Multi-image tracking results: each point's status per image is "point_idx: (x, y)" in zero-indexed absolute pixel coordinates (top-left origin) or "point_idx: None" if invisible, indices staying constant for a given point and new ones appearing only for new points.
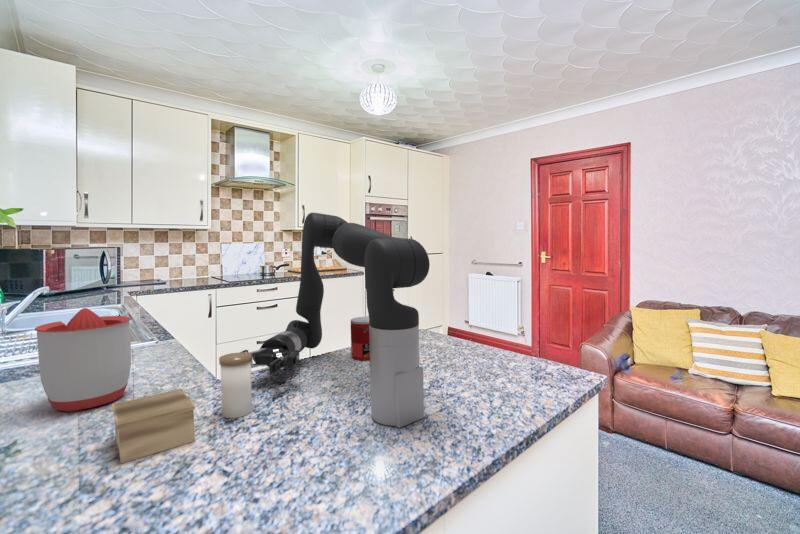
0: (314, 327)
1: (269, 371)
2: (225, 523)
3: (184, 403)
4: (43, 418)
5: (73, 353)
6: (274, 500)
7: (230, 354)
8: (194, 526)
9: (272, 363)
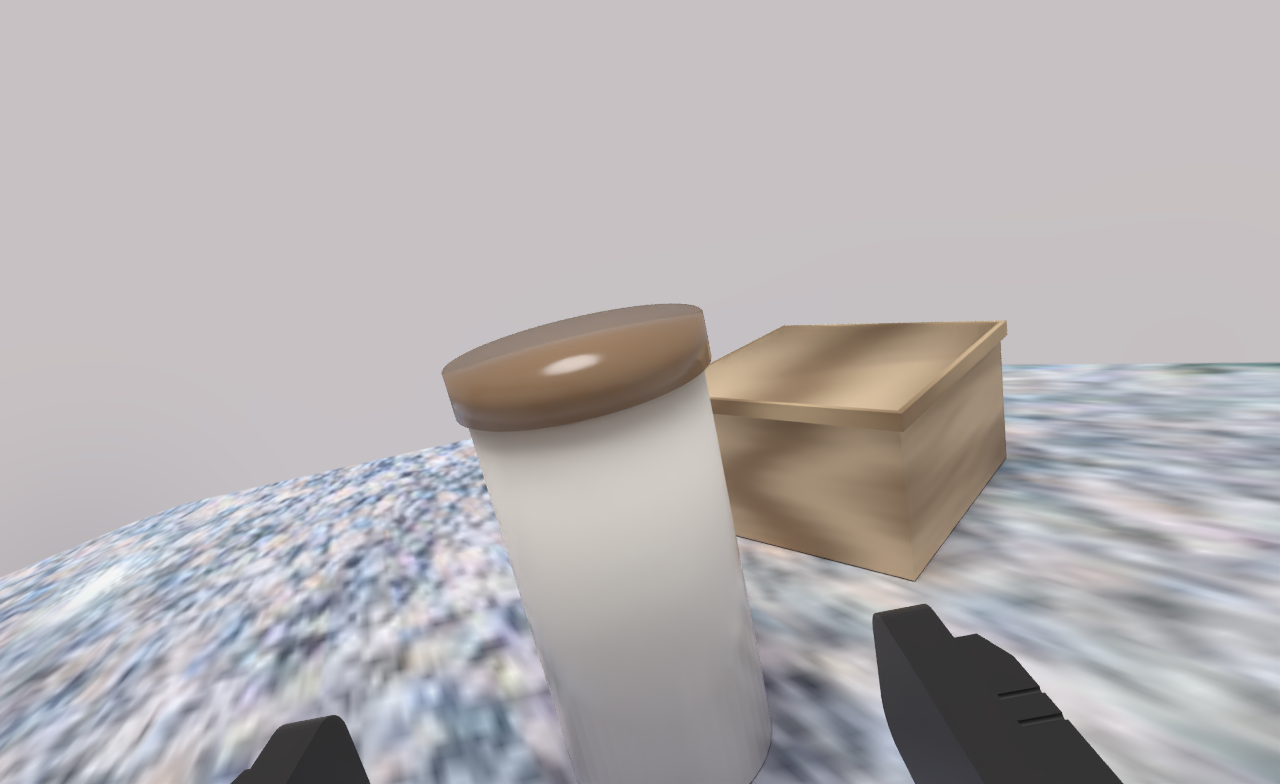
0: None
1: (367, 782)
2: (448, 446)
3: (710, 388)
4: None
5: None
6: (370, 482)
7: (652, 332)
8: None
9: (283, 734)
